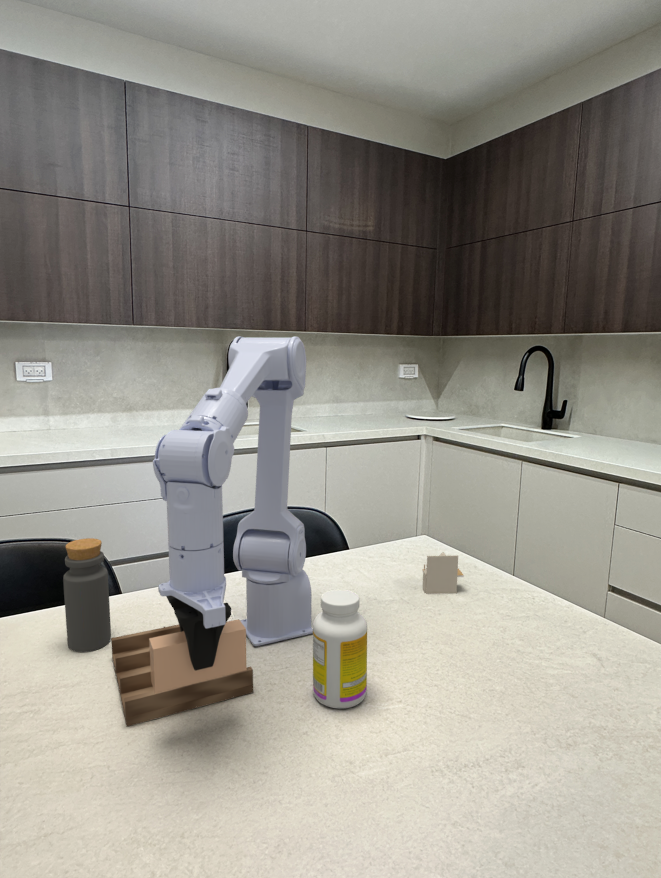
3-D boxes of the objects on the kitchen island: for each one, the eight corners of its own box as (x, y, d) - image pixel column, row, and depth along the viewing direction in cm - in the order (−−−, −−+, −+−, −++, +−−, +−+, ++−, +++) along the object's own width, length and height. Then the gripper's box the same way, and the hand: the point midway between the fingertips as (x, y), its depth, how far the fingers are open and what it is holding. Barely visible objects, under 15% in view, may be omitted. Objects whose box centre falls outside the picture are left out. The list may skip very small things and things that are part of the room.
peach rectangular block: (239, 659, 65) (239, 619, 65) (246, 670, 63) (245, 628, 62) (151, 681, 61) (149, 638, 60) (155, 693, 59) (153, 649, 58)
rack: (218, 634, 84) (218, 616, 84) (253, 692, 70) (253, 670, 69) (112, 658, 77) (111, 637, 77) (126, 726, 63) (125, 702, 63)
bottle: (95, 654, 78) (89, 552, 76) (58, 650, 79) (51, 548, 77) (119, 634, 84) (114, 538, 82) (84, 630, 85) (78, 535, 83)
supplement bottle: (372, 685, 72) (374, 589, 70) (357, 716, 65) (359, 612, 64) (323, 675, 74) (323, 582, 72) (304, 704, 68) (304, 603, 66)
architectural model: (420, 588, 103) (421, 549, 101) (457, 587, 103) (459, 549, 102) (424, 596, 99) (426, 556, 98) (463, 595, 100) (465, 555, 98)
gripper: (146, 527, 64) (151, 637, 66) (171, 571, 52) (176, 706, 54) (207, 519, 67) (210, 625, 70) (245, 559, 55) (247, 687, 57)
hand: (199, 659), depth 62 cm, fingers closed on peach rectangular block, 2 cm apart
